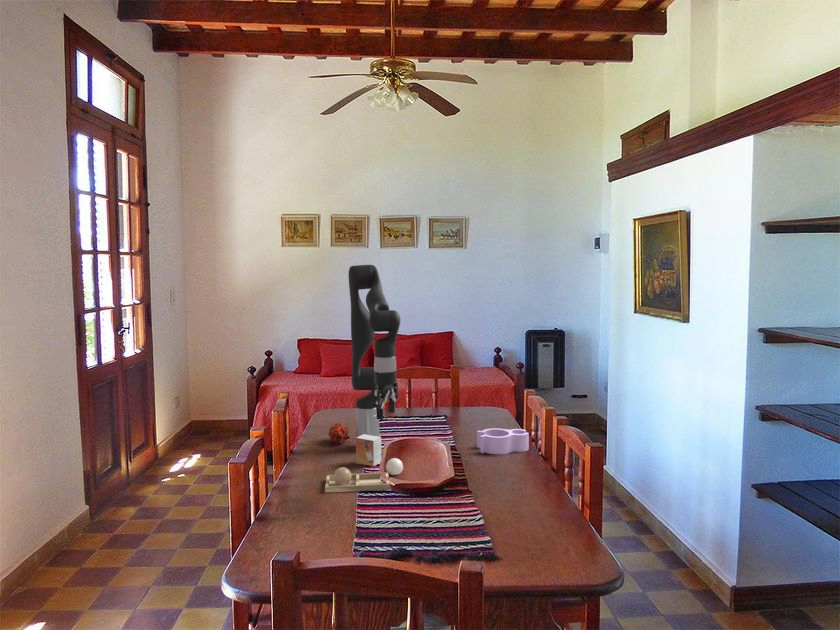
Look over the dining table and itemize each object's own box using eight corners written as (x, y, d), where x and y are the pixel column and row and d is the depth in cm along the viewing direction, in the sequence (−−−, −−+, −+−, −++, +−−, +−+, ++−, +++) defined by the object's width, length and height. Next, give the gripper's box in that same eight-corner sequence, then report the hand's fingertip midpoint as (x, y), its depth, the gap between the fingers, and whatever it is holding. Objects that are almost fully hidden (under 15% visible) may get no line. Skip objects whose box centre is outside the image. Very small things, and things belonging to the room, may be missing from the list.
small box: (355, 465, 211) (355, 437, 210) (363, 460, 216) (363, 433, 215) (373, 468, 207) (373, 440, 206) (381, 463, 212) (381, 436, 211)
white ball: (385, 472, 203) (385, 456, 202) (402, 471, 204) (402, 455, 203) (386, 478, 197) (386, 461, 196) (403, 477, 198) (403, 461, 197)
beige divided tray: (327, 482, 194) (327, 475, 194) (388, 479, 197) (388, 472, 196) (325, 494, 183) (325, 487, 183) (389, 491, 186) (389, 484, 185)
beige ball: (334, 482, 192) (333, 465, 192) (351, 481, 193) (351, 464, 192) (333, 489, 186) (332, 471, 186) (351, 488, 187) (351, 470, 186)
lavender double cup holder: (522, 443, 235) (522, 427, 234) (531, 453, 223) (532, 436, 222) (475, 445, 233) (475, 429, 232) (482, 455, 220) (482, 438, 220)
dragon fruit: (340, 440, 245) (341, 453, 233) (324, 431, 242) (324, 443, 231) (351, 425, 244) (353, 437, 232) (335, 415, 242) (336, 427, 230)
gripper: (385, 364, 199) (385, 409, 201) (365, 372, 186) (365, 420, 188) (404, 366, 196) (404, 411, 198) (385, 374, 183) (385, 422, 185)
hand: (385, 415), depth 193 cm, fingers open, 8 cm apart
